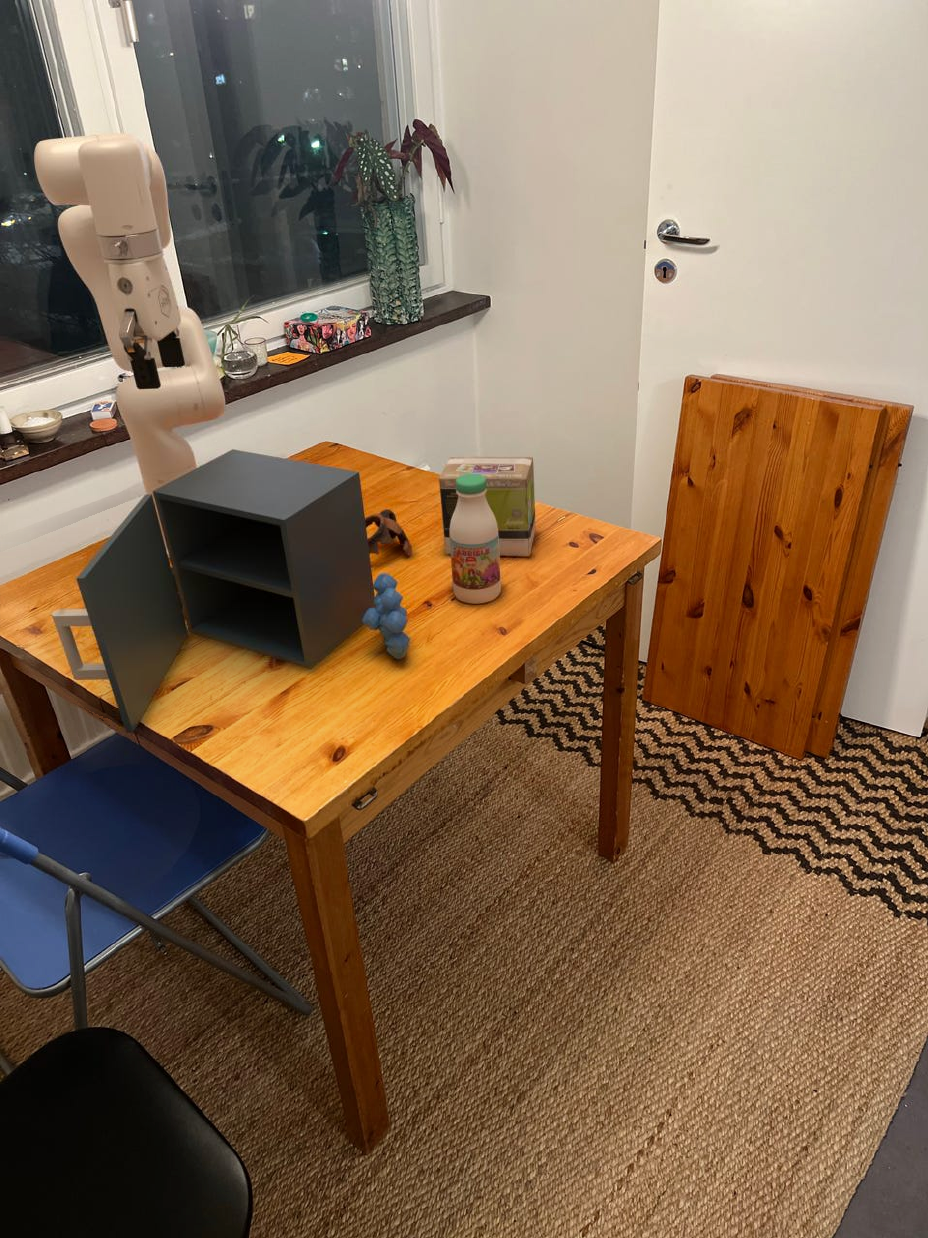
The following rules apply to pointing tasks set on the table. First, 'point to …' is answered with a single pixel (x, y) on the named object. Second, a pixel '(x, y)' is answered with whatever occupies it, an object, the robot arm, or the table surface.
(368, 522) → the brown curved legged piece
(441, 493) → the tea box
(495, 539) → the milk bottle
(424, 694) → the table surface
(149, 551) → the cupboard door
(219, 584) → the cupboard
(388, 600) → the grapes
